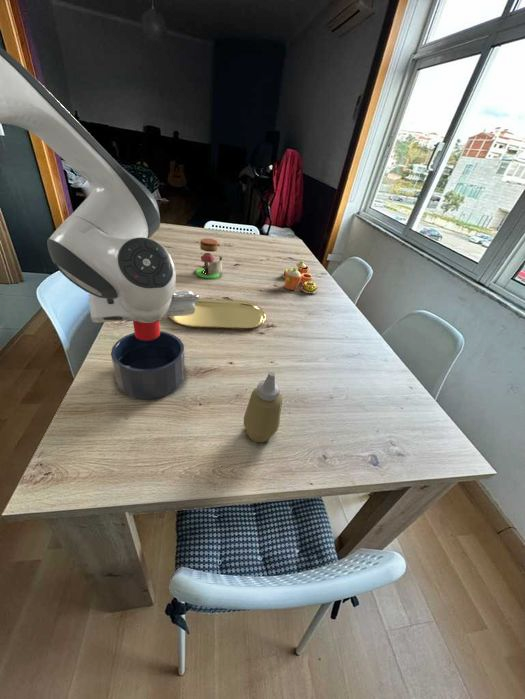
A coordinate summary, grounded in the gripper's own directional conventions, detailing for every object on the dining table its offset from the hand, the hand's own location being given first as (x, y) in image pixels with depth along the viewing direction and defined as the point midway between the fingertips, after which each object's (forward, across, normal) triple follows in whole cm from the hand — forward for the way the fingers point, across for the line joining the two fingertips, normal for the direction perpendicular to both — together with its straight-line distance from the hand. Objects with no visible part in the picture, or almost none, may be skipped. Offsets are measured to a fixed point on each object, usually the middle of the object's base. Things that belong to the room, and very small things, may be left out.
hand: (145, 316), depth 67 cm
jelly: (+3, 0, +4) cm, 4 cm away
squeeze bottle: (-5, -20, +31) cm, 37 cm away
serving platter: (+32, -26, -6) cm, 41 cm away
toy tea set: (+49, -72, -23) cm, 90 cm away
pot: (+12, 0, +13) cm, 18 cm away
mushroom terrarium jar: (+57, -31, -32) cm, 73 cm away
